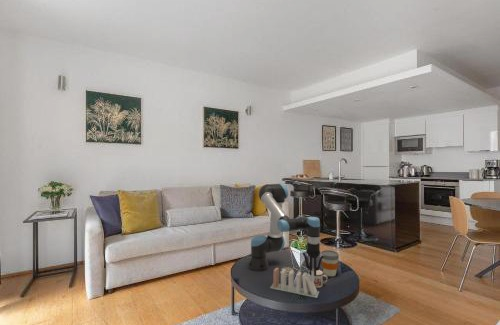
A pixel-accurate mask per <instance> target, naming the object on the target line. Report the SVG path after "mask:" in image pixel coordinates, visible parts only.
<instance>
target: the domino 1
mask: <svg viewBox="0 0 500 325" xmlns="http://www.w3.org/2000/svg"><path fill="white" fill-rule="evenodd" d="M272 274H273V276H272V277H273V278H272V281H273V283H272V284H273V288H277V286H278V285H279V284H280V267H275V268H274V269H273V273H272Z"/></svg>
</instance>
